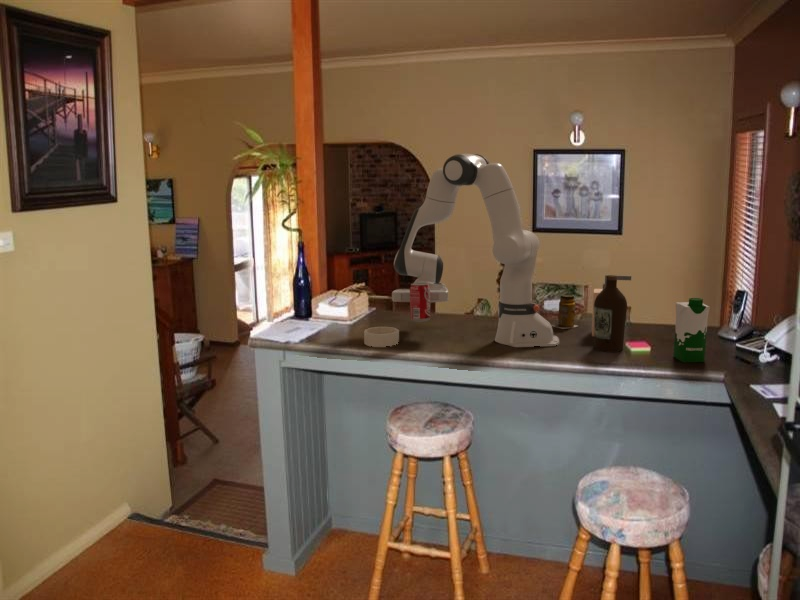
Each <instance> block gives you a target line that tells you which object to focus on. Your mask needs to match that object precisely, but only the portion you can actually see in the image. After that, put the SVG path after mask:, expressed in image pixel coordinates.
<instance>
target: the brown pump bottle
mask: <svg viewBox="0 0 800 600" xmlns="http://www.w3.org/2000/svg"><path fill="white" fill-rule="evenodd" d="M606 275H607V280H606V287H605V288H604V289H603V288H602V289H603V290H602V291H601V292H600V293H599V294H598V295H597V297H596V299H595V302H594V336H593V337H594V338H593V340H594V341H593V344H594V346H593V347H594V349H595V350H598V351H600V352H609V353H612V352H613V353H615V352H621V351H622V350H624V344H625V343H624V341H625V331H626V321H627V319H626V318H627V310H628V302H627V301H628V300H627V298H626V296H625V295H624V294H623V292H621V290H620V289H619V288H618V287H617V285H618V283H617V282H618V280H616V278H617V276H616V275H617V274H616V275H615V274H606Z"/></svg>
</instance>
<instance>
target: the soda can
mask: <svg viewBox="0 0 800 600" xmlns="http://www.w3.org/2000/svg"><path fill="white" fill-rule="evenodd" d="M413 283H414V282H413ZM413 283H411V284H410V288H409V289H410V302H409V314H410V316H409V317H410V320H411V321H412V322H414V323H415V322H418V323H421V322H424V323H425V322H428V321H430V320H431V303H430V287H429V284H428V283H414V284H413Z"/></svg>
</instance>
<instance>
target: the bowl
mask: <svg viewBox="0 0 800 600" xmlns="http://www.w3.org/2000/svg"><path fill="white" fill-rule="evenodd" d="M398 342H400V329H398V328H396V327H391V326H374V327H369V328H365V329H364V331H363V343H364V345H366V346H367V347H371V346H372V347H371V348H387V347H386V346H390V347H393V346H392V345H395V346H397V345H398V344H399V343H398ZM396 344H397V345H396Z"/></svg>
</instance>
